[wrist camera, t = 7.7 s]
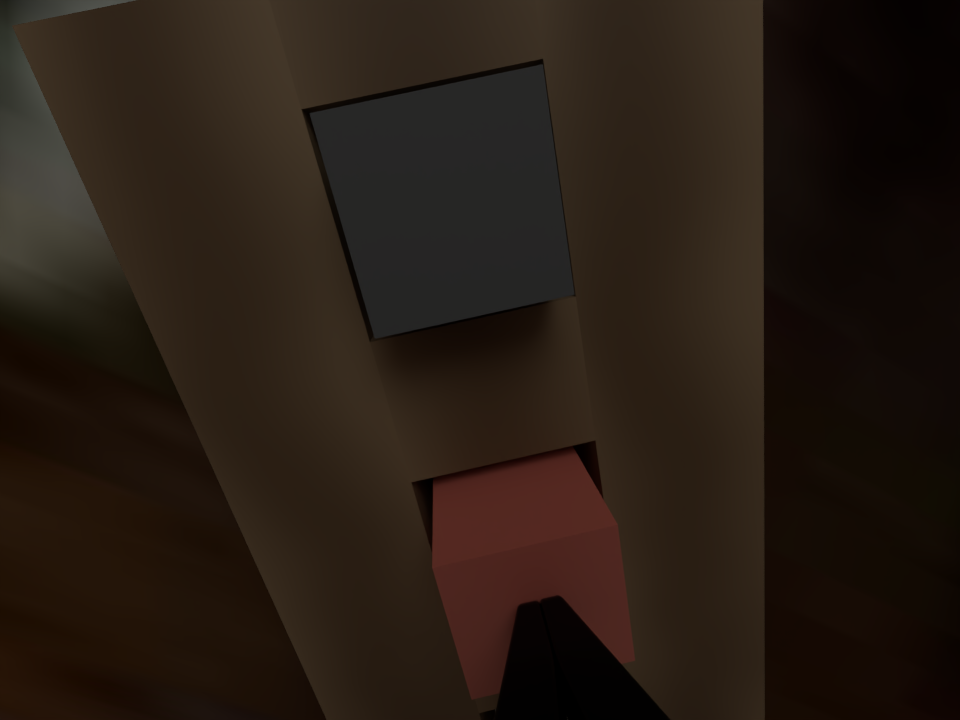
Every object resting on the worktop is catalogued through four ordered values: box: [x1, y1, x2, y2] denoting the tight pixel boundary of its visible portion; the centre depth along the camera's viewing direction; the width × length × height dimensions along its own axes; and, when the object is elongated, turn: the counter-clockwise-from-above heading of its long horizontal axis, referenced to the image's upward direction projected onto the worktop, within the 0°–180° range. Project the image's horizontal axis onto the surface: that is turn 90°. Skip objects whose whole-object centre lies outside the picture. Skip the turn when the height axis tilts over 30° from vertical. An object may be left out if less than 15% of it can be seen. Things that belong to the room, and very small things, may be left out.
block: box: [12, 0, 765, 720], centre depth 13 cm, size 12×23×4 cm, turn 12°
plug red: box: [432, 446, 635, 700], centre depth 11 cm, size 3×3×5 cm
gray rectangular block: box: [310, 64, 575, 339], centre depth 9 cm, size 3×3×5 cm
